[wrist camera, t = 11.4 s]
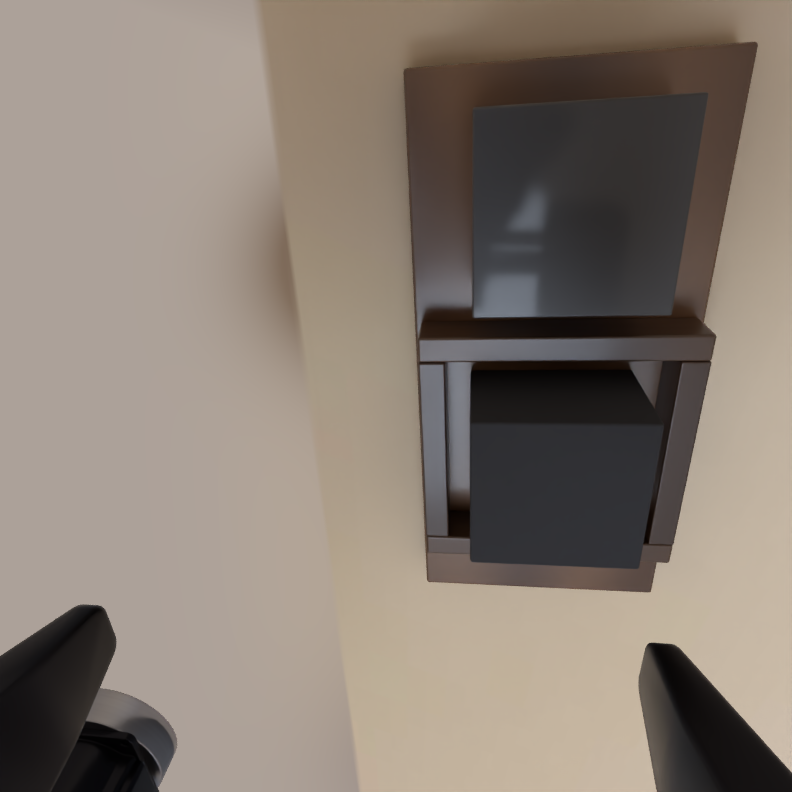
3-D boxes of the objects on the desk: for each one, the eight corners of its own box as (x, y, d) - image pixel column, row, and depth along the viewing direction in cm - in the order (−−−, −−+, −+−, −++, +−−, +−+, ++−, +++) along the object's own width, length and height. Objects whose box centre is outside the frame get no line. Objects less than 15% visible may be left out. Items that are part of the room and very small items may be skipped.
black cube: (470, 494, 21) (470, 563, 17) (470, 369, 18) (469, 422, 15) (614, 498, 20) (639, 570, 17) (632, 368, 18) (665, 424, 15)
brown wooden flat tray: (428, 561, 24) (421, 633, 21) (408, 70, 16) (390, 61, 12) (643, 570, 23) (671, 648, 19) (739, 45, 15) (816, 28, 11)
